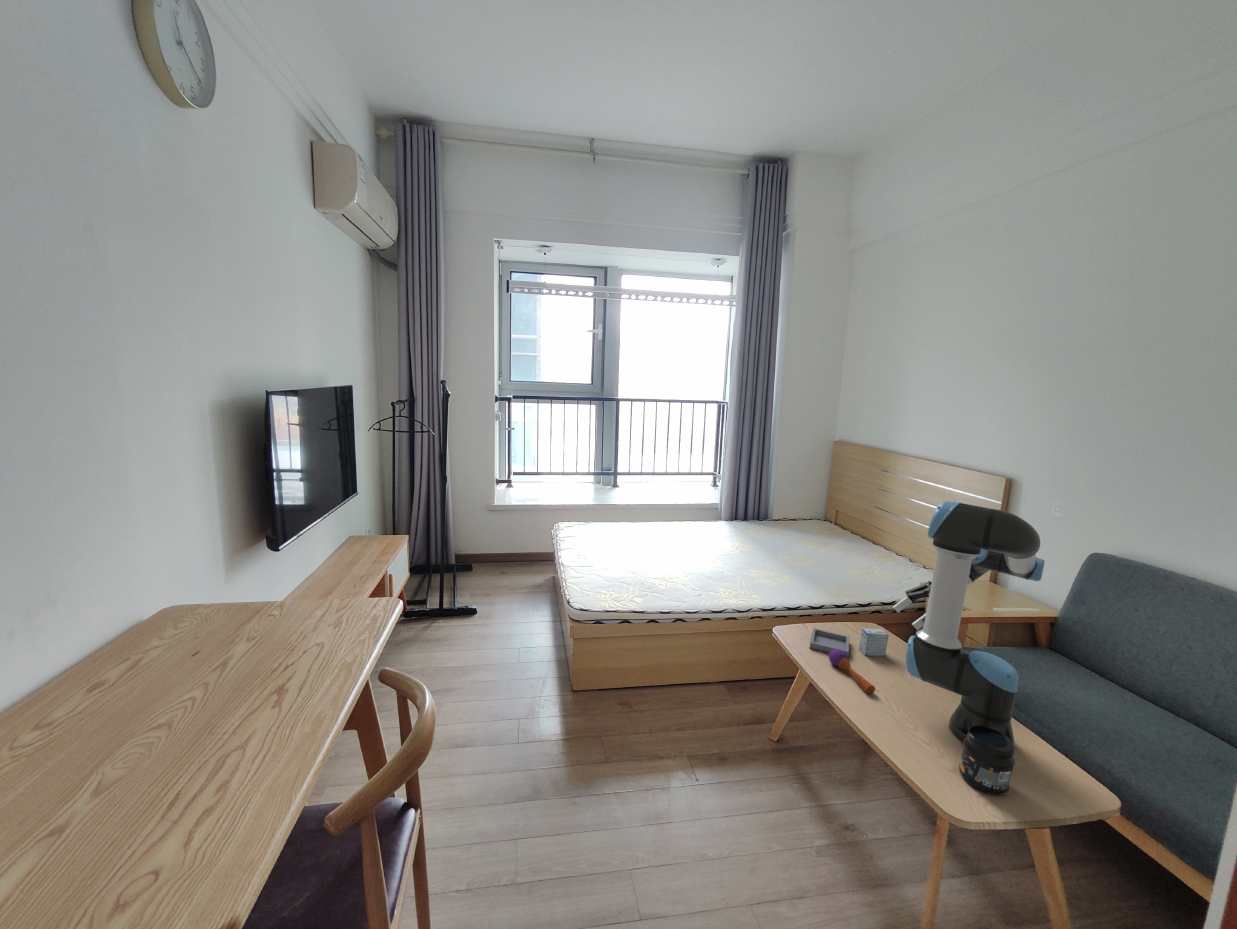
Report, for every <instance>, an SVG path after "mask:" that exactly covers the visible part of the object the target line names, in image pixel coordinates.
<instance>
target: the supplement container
mask: <svg viewBox="0 0 1237 929" xmlns="http://www.w3.org/2000/svg"><path fill="white" fill-rule="evenodd" d="M962 744H963V746H962V751H961V757H960V761H959V766H958V770H959V774H960V775H961V777H962V778H963V779H964V780H965V782H967V783H968V784H969V785H971V786H972V787H973V788H975V789H976V788H977V789H976V790H978V791H980V790H981V791H980V792H982V791H983V792H982V793H984V794H985V793H986V794H989V795H994V796H1003V795H1005V794H1008V792H1009V791H1010V786H1011V780H1012V775H1013V771H1014V767H1015V765H1016V758H1015V751H1016V745H1015V744H1013V742H1012V741H1011V740H1010V739H1009V738H1008V737H1006V736H1005V735H1003V734H1002V733H1000V732H998V731H996V730H993V729H991V728H987V727H983V726H973V727H970V728H969V730H968V734H967V737H966V738H965V739H964V742H962Z"/></svg>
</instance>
